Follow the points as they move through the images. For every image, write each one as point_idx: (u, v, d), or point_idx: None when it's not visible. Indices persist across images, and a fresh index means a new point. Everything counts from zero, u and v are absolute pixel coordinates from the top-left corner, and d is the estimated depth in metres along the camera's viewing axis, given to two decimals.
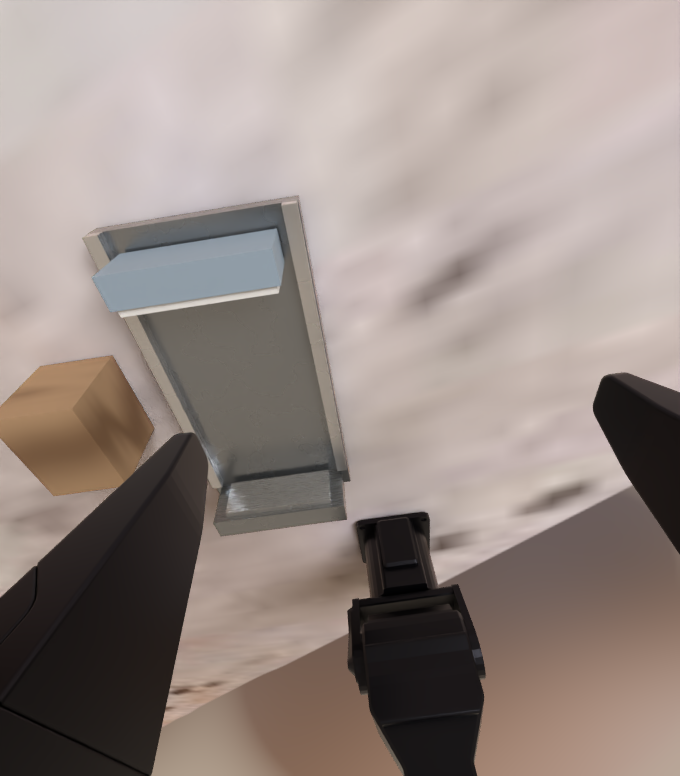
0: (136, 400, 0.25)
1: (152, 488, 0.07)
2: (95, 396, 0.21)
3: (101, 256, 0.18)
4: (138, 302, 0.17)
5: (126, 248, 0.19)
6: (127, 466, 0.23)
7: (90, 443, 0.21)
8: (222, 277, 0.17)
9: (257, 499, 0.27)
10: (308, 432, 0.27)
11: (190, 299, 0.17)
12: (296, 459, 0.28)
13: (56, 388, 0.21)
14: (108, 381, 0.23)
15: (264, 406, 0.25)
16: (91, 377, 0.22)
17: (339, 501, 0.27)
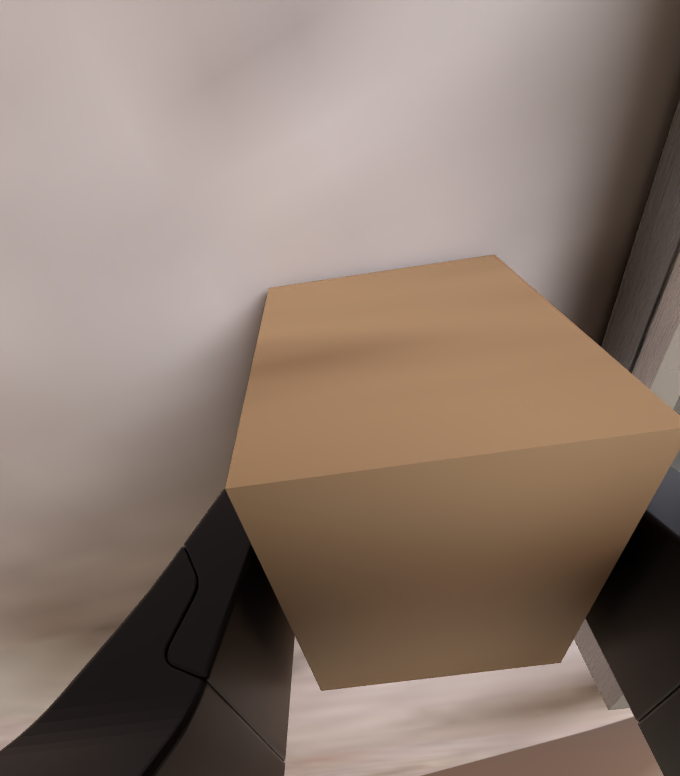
0: None
1: None
2: None
3: None
4: None
5: None
6: None
7: (593, 561, 0.05)
8: None
9: None
10: None
11: None
12: None
13: (427, 339, 0.06)
14: None
15: None
16: (531, 305, 0.06)
17: None
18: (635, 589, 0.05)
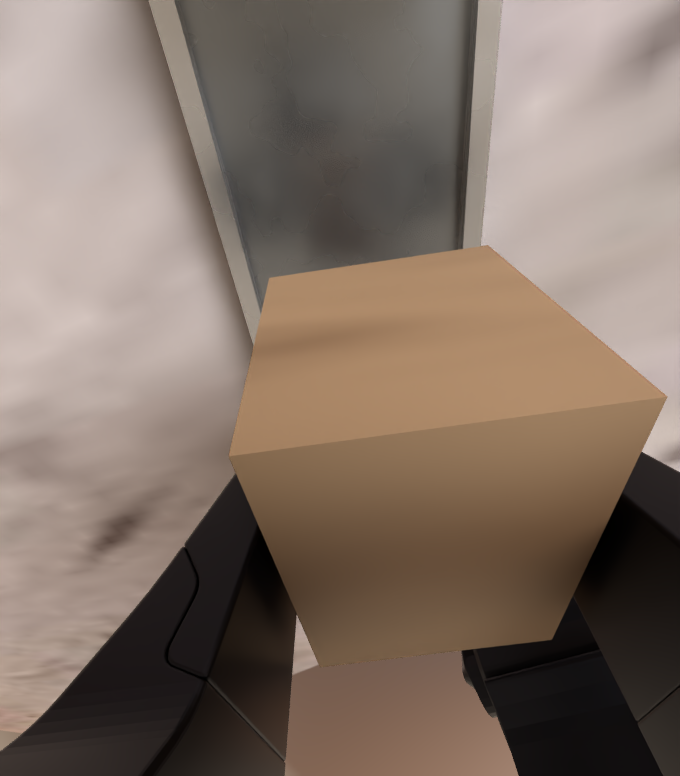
0: None
1: None
2: None
3: None
4: None
5: None
6: None
7: (579, 533, 0.05)
8: None
9: None
10: None
11: None
12: None
13: (422, 322, 0.06)
14: None
15: (366, 254, 0.16)
16: (521, 291, 0.06)
17: None
18: (634, 588, 0.05)
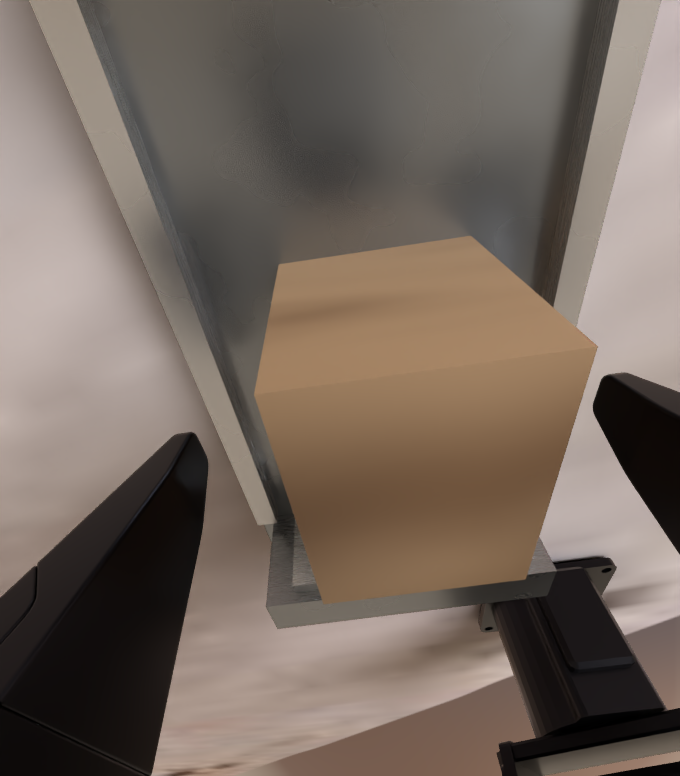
0: None
1: (152, 488, 0.07)
2: None
3: None
4: None
5: None
6: None
7: (540, 471, 0.06)
8: None
9: None
10: None
11: None
12: None
13: (410, 298, 0.07)
14: None
15: None
16: (495, 271, 0.07)
17: (540, 559, 0.12)
18: None
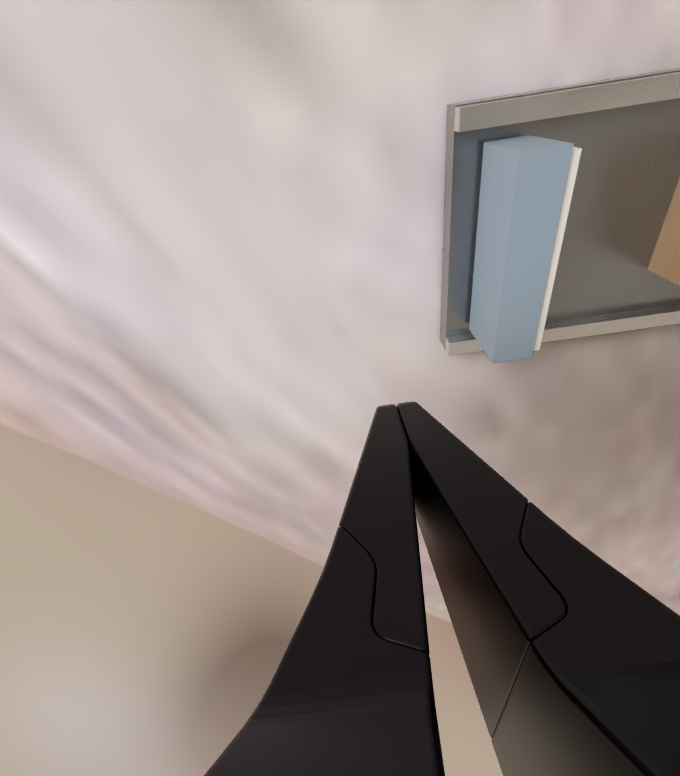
0: None
1: (404, 454, 0.07)
2: None
3: (468, 345, 0.19)
4: (531, 329, 0.15)
5: (465, 321, 0.19)
6: None
7: None
8: (534, 228, 0.13)
9: None
10: None
11: (546, 274, 0.14)
12: None
13: None
14: None
15: None
16: None
17: None
18: (472, 608, 0.05)
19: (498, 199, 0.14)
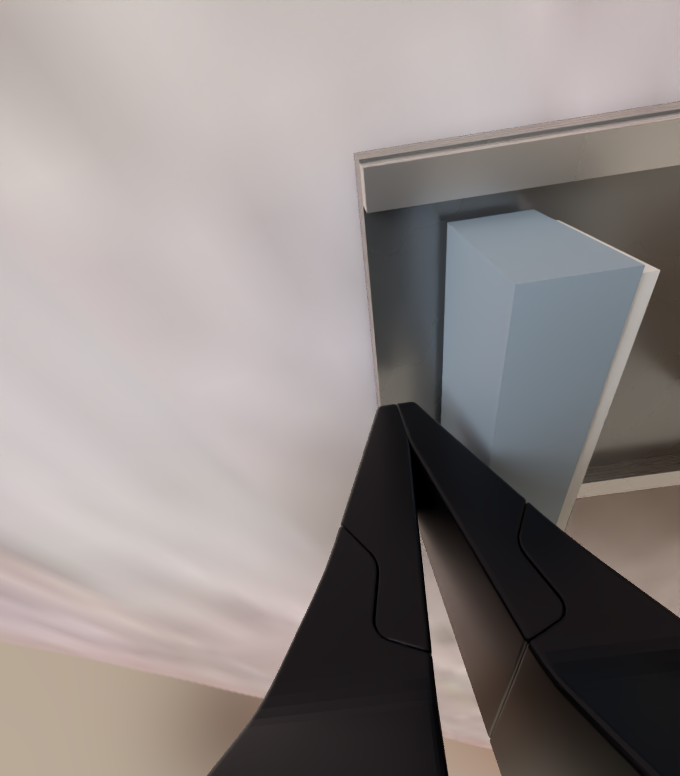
0: None
1: (406, 454, 0.07)
2: None
3: None
4: None
5: None
6: None
7: None
8: (546, 415, 0.06)
9: None
10: None
11: (568, 474, 0.07)
12: None
13: None
14: None
15: None
16: None
17: None
18: (471, 608, 0.05)
19: (474, 343, 0.07)
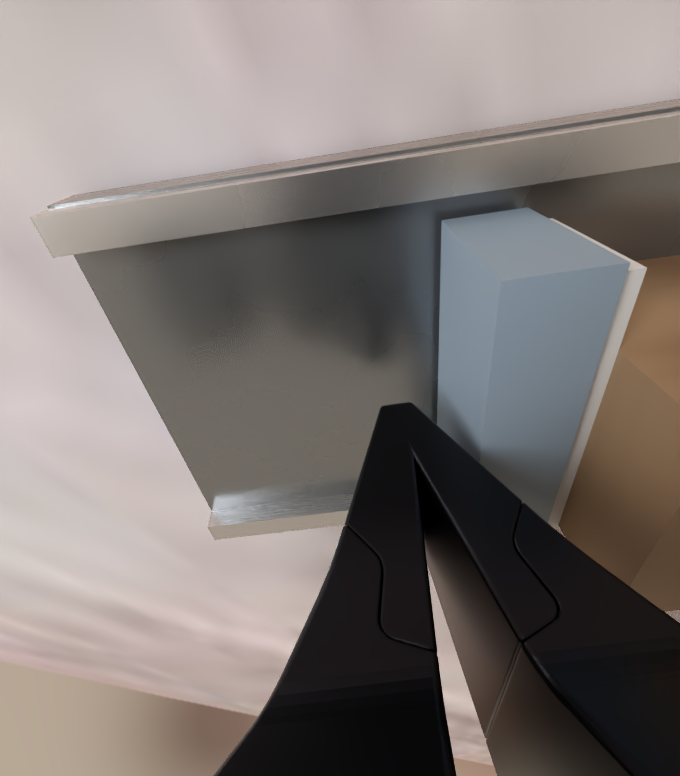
0: None
1: (409, 453, 0.07)
2: (665, 347, 0.06)
3: (239, 528, 0.12)
4: None
5: (231, 493, 0.12)
6: None
7: None
8: (536, 411, 0.06)
9: None
10: None
11: (559, 471, 0.07)
12: None
13: None
14: None
15: None
16: None
17: None
18: (466, 609, 0.05)
19: (466, 340, 0.07)
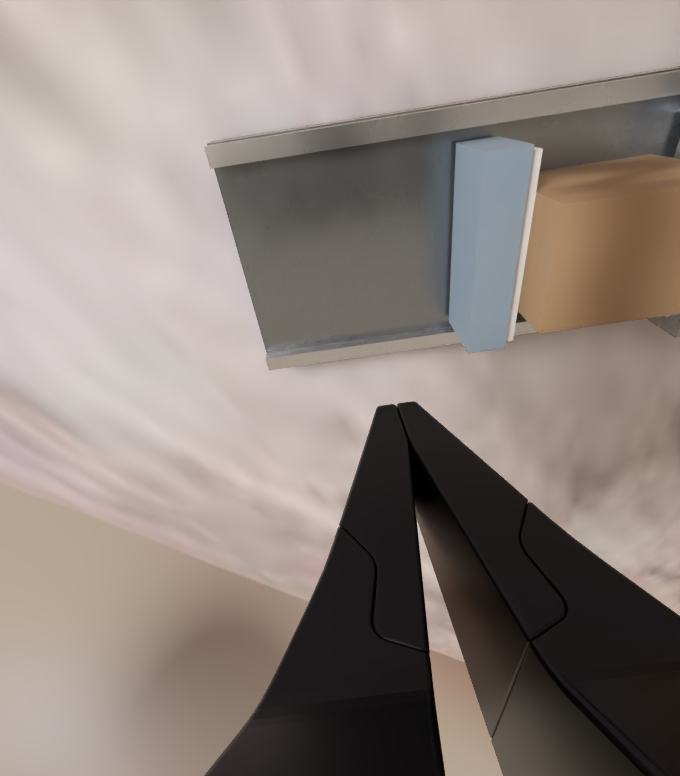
0: (587, 164, 0.16)
1: (405, 454, 0.07)
2: (556, 189, 0.13)
3: (284, 360, 0.20)
4: (503, 320, 0.16)
5: (280, 337, 0.20)
6: None
7: (639, 203, 0.12)
8: (501, 224, 0.14)
9: None
10: (580, 150, 0.16)
11: (515, 267, 0.15)
12: None
13: None
14: (539, 180, 0.15)
15: None
16: None
17: None
18: (472, 608, 0.05)
19: (468, 196, 0.14)
